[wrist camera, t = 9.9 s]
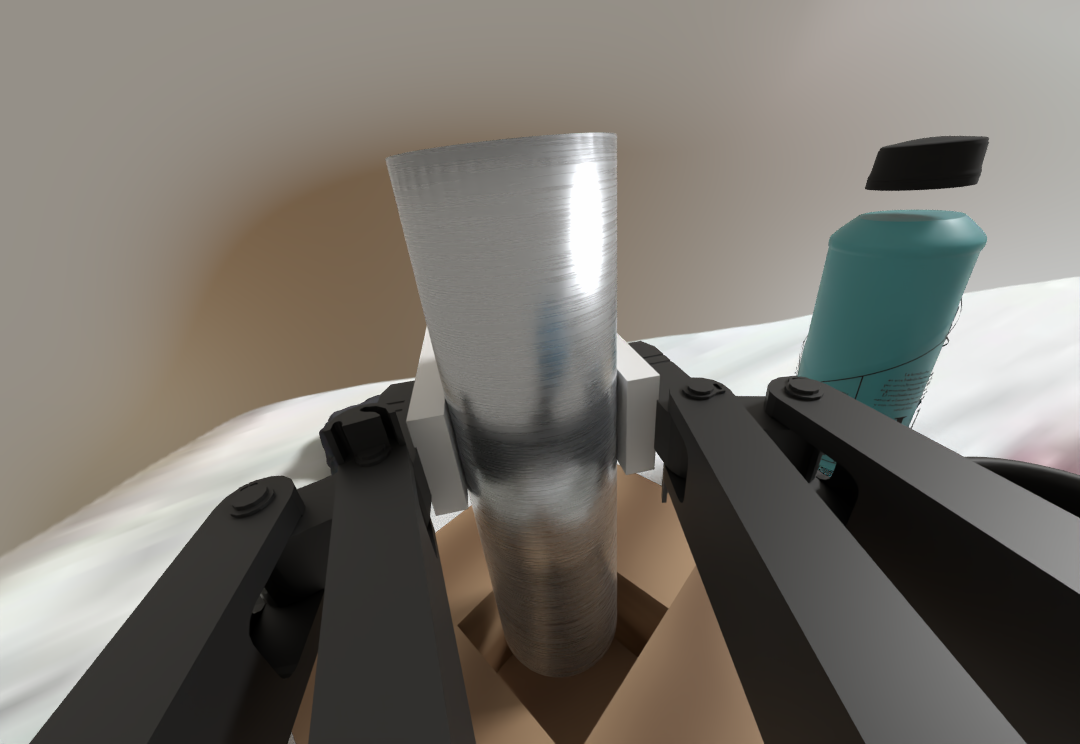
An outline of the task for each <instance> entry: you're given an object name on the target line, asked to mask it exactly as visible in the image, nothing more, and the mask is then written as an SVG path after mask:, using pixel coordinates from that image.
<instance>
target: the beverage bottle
mask: <svg viewBox="0 0 1080 744" xmlns="http://www.w3.org/2000/svg"><path fill="white" fill-rule="evenodd" d="M988 140H989V138H988V137H982V136H981V137H975V136H941V137H930V138H922V139H917V140H911V141H907V142H902V143H898V144H894V145H889V146H885V147H882V148H881V149H880V151H879V152H878V154H877V157H876V160H875V163H874V166H873V168H872V171H871V174H870V176H869V177H868V180H867V183H866V187H865V189H867V190H880V191H884V190H885V191H900V190H927V189H941V188H954V187H963V186H970V185H975V184H977V182H978V180H979V177H980V175H981V171H982V163H983V160H984V156H985V153H986V150H987V146H988V143H989V142H988ZM986 242H987V236H986V234H985V233H984V232H983V230H982V229H981V228H980V227H979V226H978V225H977V224H976V223H975V222H974V221H973V220H972V219H971V218H970V217H969V216H967V215H966V214H964V213H961V212H954V211H942V210H892V211H878V212H870V213H865V214H861V215H859V216H858V217H856V218H855V219H853V220H852V221H850V222H849V223H847V224H846V225H844V226H843V227H841V228H840V229H839V230H837V231H836V232H835V233H834V234H832V236H831V237H830V239H829V249H828V253H827V257H826V261H825V265H824V270H823V274H822V278H821V282H820V287H819V291H818V295H817V299H816V304H815V308H814V312H813V316H812V320H811V324H810V328H809V333H808V337H806V338H807V340H806V343H805V346H804V350H803V348H802V350H803V354H802V353H801V354H802V358H801V357H800V354H799V357H800V359H801V362H800V361H799V366H798V367H799V371H798V370H797V372H798V375H796V376H797V377H799V376H801V377H807V378H809V379H813V380H817V381H820V382H822V383H824V384H827V385H829V386H831V387H833V388H835V389H837V390H839V391H841V392H842V393H844V394H846V395H848V396H850V397H852V398H854V399H856V400H858V401H859V402H861V403H863V404H865V405H867V406H869V407H871V408H873V409H875V410H876V411H878V412H880V413H882V414H884V415H886V416H888V417H890V418H892V419H893V420H895V421H897V422H899V423H901V424H903V425H905V426H907V427H909V424H910V422H911V420H912V417H913V415H914V413H915V410H916V408H917V407H918V405H919V404H920V403H921V400H922V399H920V398H921V396H923V395H922V394H923V391H925V390H927V389H925V386H928V385H926V384H929V383H927V382H928V379H929V377H930V376H932V375H933V373H932V374H931V372H932V370H933V367H934V365H935V363H936V360H937V358H938V355H939V353H940V351H941V348H942V347H943V346H945V345H947V344H948V343H947V344H945V345H943V344H944V342H945V340H946V339H947V340H948V342H949V339H948V337H946V336H947V335H948V334H949V333H950V332H949V331H950V330H949V329H950V328H951V326H952V322H953V321H954V318H955V316H956V313H957V311H958V309H959V307H958V305H959V302H960V300H961V308H962V295H963V293H964V290H965V288H966V285H967V283H968V280H969V278H970V275H971V273H972V270H973V268H974V266H975V263H976V261H977V258H978V256H979V253H980V251H981V250H982V249H983V248H984V247H985V245H986ZM960 313H961V312H960ZM959 316H960V315H959ZM958 319H959V318H958ZM957 321H958V320H957ZM956 323H957V322H956ZM955 325H956V324H955ZM955 325H954V326H955ZM952 329H953V328H952ZM952 329H951V330H952ZM804 341H805V340H804ZM803 343H804V342H803ZM802 345H804V344H802ZM796 369H797V367H796ZM795 373H796V372H795ZM930 380H931V379H930ZM924 389H925V390H924ZM925 393H927V392H925ZM925 393H924V394H925ZM924 397H925V396H923V398H924ZM919 410H920V409H919ZM919 410H918V411H917V412H918V413H919ZM917 415H918V414H917ZM916 417H917V416H916ZM915 420H916V418H915ZM915 420H914V422H915ZM914 422H913V423H914ZM912 425H913V424H912ZM911 427H913V426H911ZM910 429H912V428H910ZM819 466H821V467H823V468H826V469H829V470H832V471H834V469H835V466H836V462H835V461H834V460H832V459H831V458H829V457H828V456H827V455H825V454H824V453H823V455H822V458H821V461H820V464H819Z"/></svg>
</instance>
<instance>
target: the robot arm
mask: <svg viewBox="0 0 1080 744" xmlns="http://www.w3.org/2000/svg"><path fill="white" fill-rule="evenodd" d="M323 432H324V435H325V437H326V439H327V441H328V444H329V446H330V448H331V450H332V452H333V455H334V457H335V459H336V461H337V464H338V471H337V473H335V474H333V475H331V476H329V477H327V478H324V479H322V480H320V481H317V482H315V483H312V484H309V485H307V486H304V487H302V488H299V489H296V487H295V485H294V483H293V481H292V480H291V479H290V478H287V477H285V476H270V477H267V478H263V479H259V480H256V481H253V482H250V483H249V484H246V485H244V486H242V487H240V488H239V489H238V490H236V491H235V492H233V493H232V494H230V495H229V496H227V497H226V498H225V499H224V500H223V501H222V502H221V503H220V504H219V505H218V506H217V507H216V508H215V509H214V510H213V511H212V512H211V514H210V515H209V516H208V518H207V519H206V520H205V521H204V523H203V524H202V525H201V526H200V528H199V529H198V530H197V531H196V533H195V534H194V535H193V537H192V538H191V539H190V540H189V542H188V543H187V544H186V545H185V547H184V548H183V549H182V551H181V552H180V553H179V554H178V556H177V557H176V558H175V559H174V561H173V562H172V563H171V564H170V566H169V567H168V568H167V570H166V571H165V572H164V573H163V575H162V576H161V577H160V578H159V580H158V581H157V582H156V583H155V585H154V586H153V587H152V589H151V590H150V591H149V592H148V594H147V595H146V596H145V597H144V599H143V600H142V601H141V603H140V604H139V605H138V606H137V608H136V609H135V610H134V611H133V613H132V614H131V615H130V616H129V618H128V619H127V620H126V622H125V623H124V624H123V625H122V627H121V628H120V629H119V630H118V632H117V633H116V634H115V635H114V637H113V638H112V639H111V641H110V642H109V643H108V644H107V646H106V647H105V648H104V649H103V651H102V652H101V653H100V655H99V656H98V657H97V658H96V660H95V661H94V662H93V663H92V665H91V666H90V667H89V668H88V670H87V671H86V672H85V674H84V675H83V676H82V677H81V679H80V680H79V681H78V682H77V684H76V685H75V686H74V688H73V689H72V690H71V691H70V693H69V694H68V695H67V696H66V698H65V699H64V700H63V701H62V703H61V704H60V705H59V707H58V708H57V709H56V710H55V712H54V713H53V714H52V715H51V717H50V718H49V719H48V720H47V722H46V723H45V724H44V726H43V727H42V728H41V729H40V731H39V732H38V733H37V734H36V736H35V737H34V738H33V740H32V741H31V742H30V743H29V744H288V741H289V738H290V735H291V732H292V729H293V726H294V723H295V720H296V717H297V714H298V711H299V708H300V705H301V702H302V699H303V696H304V693H305V690H306V687H307V684H308V681H309V678H310V675H311V672H312V669H313V666H314V663H315V660H316V657H317V654H318V657H317V666H316V676H315V685H314V694H313V703H312V713H311V722H310V731H309V741H308V744H476V740H475V735H474V730H473V725H472V719H471V714H470V709H469V704H468V699H467V694H466V689H465V684H464V678H463V673H462V668H461V663H460V658H459V653H458V648H457V643H456V637H455V632H454V627H453V622H452V617H451V612H450V607H449V602H448V596H447V591H446V586H445V581H444V576H443V571H442V566H441V561H440V555H439V550H438V545H437V540H436V535H435V530H434V527H433V524H432V521H431V518H430V511H431V502H432V505H433V508H434V511H435V514H436V516H438V515H442V514H447V513H452V512H456V511H461V510H466V509H468V487H467V483H466V479H465V475H464V471H463V467H462V463H461V459H460V455H459V451H458V447H457V443H456V439H455V435H454V431H453V427H452V423H451V419H450V415H449V411H448V407H447V403H446V399H445V395H444V391H443V387H442V383H441V379H440V375H439V371H438V367H437V363H436V359H435V355H434V351H433V347H432V343H431V339H430V335H429V331H428V327H427V328H426V333H425V337H424V342H423V346H422V351H421V356H420V360H419V365H418V369H417V374H416V378H415V381H409V382H404V383H398V384H392V385H390V386H389V387H388V388H387V389H386V390H385V391H384V392H383V393H382V394H381V395H380V397H379V400H378V402H377V403H370V404H364V405H360V406H357V407H354V408H351V409H348V410H346V411H344V412H343V413H341V414H339V415H337V416H336V417H334V418H333V419H332V420H331V421H330V422H329V423H328V424H327V425H326V427H325V429H324V431H323ZM655 451H656V452H657V454H658V455H659V456H660V458H661V459H662V461H663V462H664V466H663V480H662V493H661V498H662V503H666V502H667V494H668V493H669V495H670V498H671V501H672V503H673V506H674V509H675V511H676V514H677V516H678V519H679V522H680V524H681V527H682V530H683V532H684V535H685V537H686V540H687V543H688V545H689V548H690V551H691V553H692V556H693V558H694V561H695V564H696V566H697V569H698V572H699V574H700V577H701V579H702V582H703V585H704V587H705V590H706V593H707V595H708V598H709V600H710V603H711V606H712V608H713V611H714V614H715V616H716V619H717V621H718V624H719V627H720V629H721V632H722V635H723V637H724V640H725V642H726V645H727V648H728V650H729V653H730V656H731V658H732V661H733V663H734V666H735V669H736V671H737V674H738V677H739V679H740V682H741V684H742V687H743V690H744V692H745V695H746V698H747V700H748V703H749V705H750V708H751V711H752V713H753V716H754V719H755V721H756V724H757V726H758V729H759V732H760V734H761V737H762V740H763V742H764V744H1080V518H1079V517H1077V516H1075V515H1073V514H1071V513H1069V512H1067V511H1065V510H1063V509H1062V508H1060V507H1058V506H1056V505H1054V504H1052V503H1050V502H1048V501H1046V500H1045V499H1043V498H1041V497H1039V496H1037V495H1035V494H1033V493H1031V492H1029V491H1028V490H1026V489H1024V488H1022V487H1020V486H1018V485H1016V484H1014V483H1012V482H1011V481H1009V480H1007V479H1005V478H1003V477H1001V476H999V475H997V474H995V473H994V472H992V471H990V470H988V469H986V468H984V467H982V466H980V465H978V464H977V463H975V462H973V461H971V460H969V459H967V458H965V457H963V456H961V455H960V454H958V453H956V452H954V451H952V450H950V449H948V448H946V447H944V446H943V445H941V444H939V443H937V442H935V441H933V440H931V439H929V438H927V437H926V436H924V435H922V434H920V433H918V432H916V431H914V430H912V429H910V428H909V427H907V426H905V425H903V424H901V423H899V422H897V421H895V420H893V419H892V418H890V417H888V416H886V415H884V414H882V413H880V412H878V411H876V410H875V409H873V408H871V407H869V406H867V405H865V404H863V403H861V402H859V401H858V400H856V399H854V398H852V397H850V396H848V395H846V394H844V393H842V392H841V391H839V390H837V389H835V388H833V387H831V386H829V385H827V384H824V383H822V382H820V381H817V380H813V379H809V378H807V377H801V376H799V377H797V376H789V377H779V378H777V379H774V380H772V381H771V382H770V383H769V385H768V388H767V392H766V396H735V395H734V394H733V393H732V392H731V390H730V389H728V388H727V387H726V386H725V385H723V384H721V383H719V382H717V381H714V380H710V379H705V378H691V377H689V376H688V375H687V374H686V373H685V372H684V371H682V370H681V369H680V368H679V367H678V366H677V365H675V364H674V363H673V362H670V359H668V358H667V357H666V356H665V355H663V353H662V352H660V351H659V350H658V349H657V348H656V347H655V346H652V345H650V344H647V343H644V342H642V341H638V342H632V343H627V342H626V341H625V340H623V338H621V337H620V336H619V335H618V334H617V460H618V462H619V464H620V466H621V467H622V469H623V471H624V473H625V474H626V475H629V474H634V473H639V472H643V471H648V470H653V469H654V465H655ZM823 453H824V454H825V455H827V456H828V457H829V458H831V459H832V460H834V461H835V462H836V466H835V469H834V471H833V474H832V476H831V477H828V476H826V475H824V474H823V473H821V472H820V471H819V470H818V467H819V464H820V461H821V458H822V455H823Z"/></svg>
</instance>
